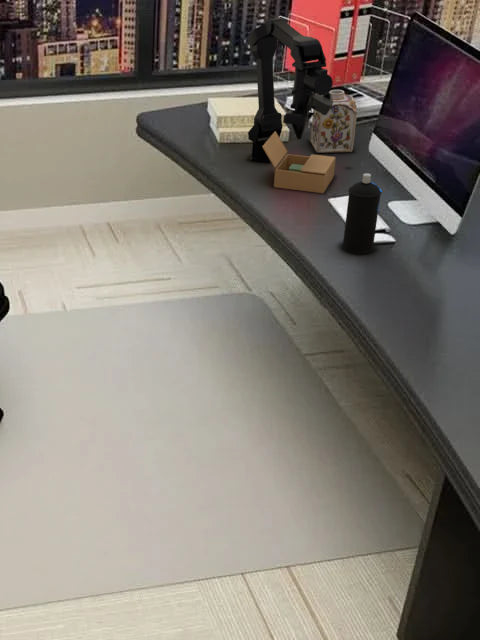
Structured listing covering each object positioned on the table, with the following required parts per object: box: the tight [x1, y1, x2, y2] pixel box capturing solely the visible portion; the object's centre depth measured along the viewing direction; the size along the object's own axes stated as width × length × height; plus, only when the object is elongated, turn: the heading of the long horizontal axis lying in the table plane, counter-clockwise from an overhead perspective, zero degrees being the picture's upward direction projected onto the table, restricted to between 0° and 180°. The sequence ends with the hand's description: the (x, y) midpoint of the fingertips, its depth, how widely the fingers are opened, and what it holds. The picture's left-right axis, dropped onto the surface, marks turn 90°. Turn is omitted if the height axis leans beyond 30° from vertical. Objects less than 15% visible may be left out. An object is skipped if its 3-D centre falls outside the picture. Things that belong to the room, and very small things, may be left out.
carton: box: [273, 153, 336, 194], centre depth 298 cm, size 15×14×6 cm
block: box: [289, 164, 305, 173], centre depth 299 cm, size 4×4×4 cm
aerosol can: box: [341, 173, 383, 255], centre depth 255 cm, size 8×8×20 cm
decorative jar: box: [309, 89, 358, 154], centre depth 318 cm, size 12×12×18 cm
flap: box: [262, 131, 288, 169], centre depth 298 cm, size 7×14×1 cm
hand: (299, 138), depth 293 cm, fingers closed
